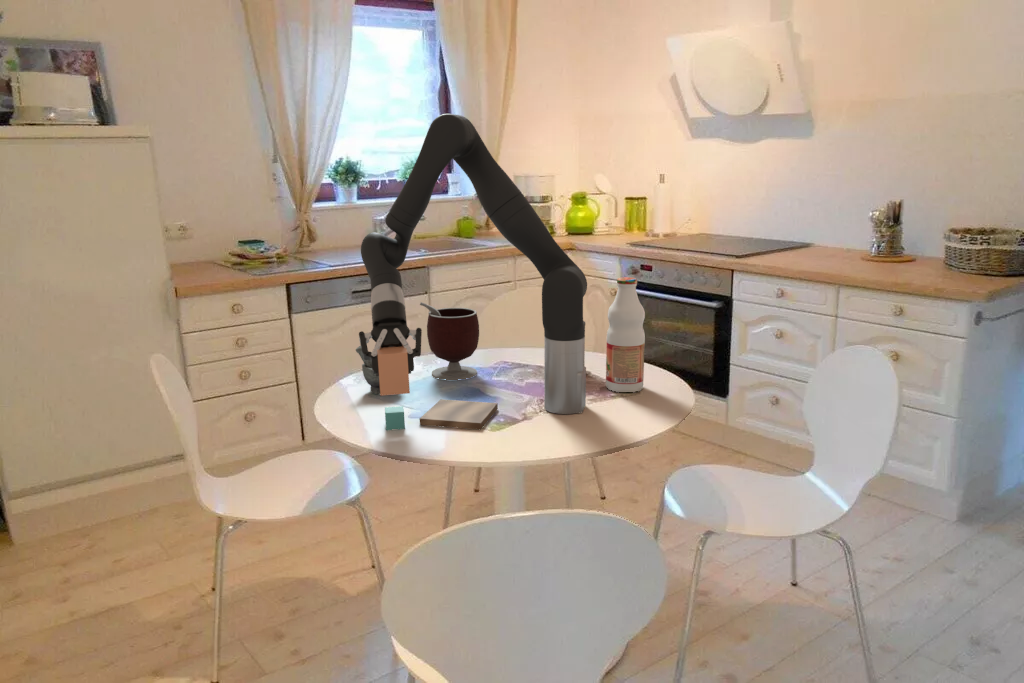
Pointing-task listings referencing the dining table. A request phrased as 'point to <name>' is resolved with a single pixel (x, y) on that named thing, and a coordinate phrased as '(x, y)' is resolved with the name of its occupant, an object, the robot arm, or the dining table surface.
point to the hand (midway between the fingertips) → (393, 373)
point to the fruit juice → (625, 339)
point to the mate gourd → (452, 339)
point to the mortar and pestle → (369, 373)
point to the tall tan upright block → (393, 370)
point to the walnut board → (459, 414)
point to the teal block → (394, 418)
